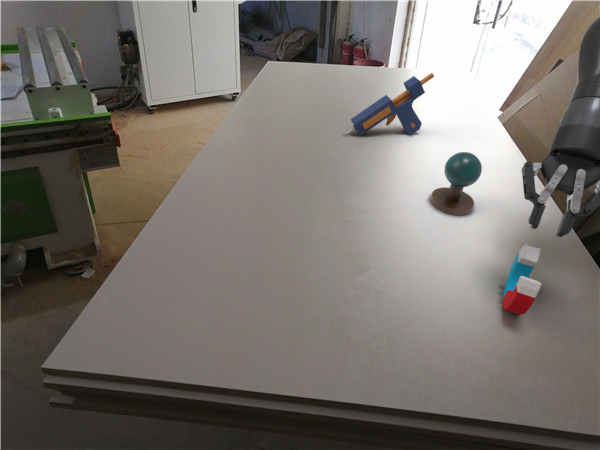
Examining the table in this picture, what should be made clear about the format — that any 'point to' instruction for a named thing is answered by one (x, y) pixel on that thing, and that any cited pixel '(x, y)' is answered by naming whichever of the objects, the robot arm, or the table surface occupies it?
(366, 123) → the glue gun
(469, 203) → the ball stand
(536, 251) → the magnet
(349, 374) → the table surface
